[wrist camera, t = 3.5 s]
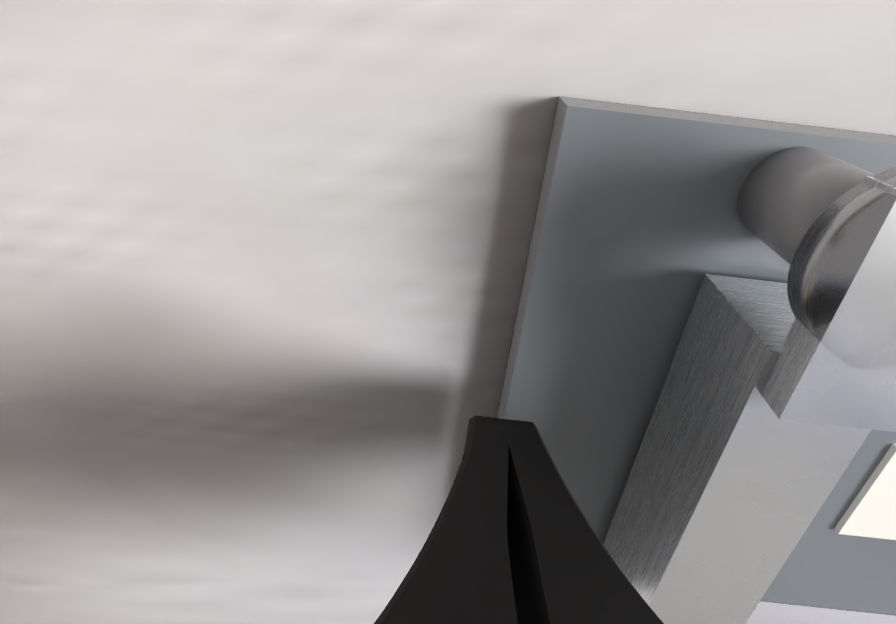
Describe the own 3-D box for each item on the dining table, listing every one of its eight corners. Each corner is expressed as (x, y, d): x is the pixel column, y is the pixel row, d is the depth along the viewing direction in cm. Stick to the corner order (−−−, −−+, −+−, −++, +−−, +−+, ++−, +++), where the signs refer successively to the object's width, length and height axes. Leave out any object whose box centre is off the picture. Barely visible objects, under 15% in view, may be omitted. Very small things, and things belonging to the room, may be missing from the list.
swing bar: (914, 128, 8) (1122, 187, 6) (676, 590, 14) (722, 727, 12) (747, 108, 8) (877, 159, 6) (577, 579, 14) (601, 715, 12)
